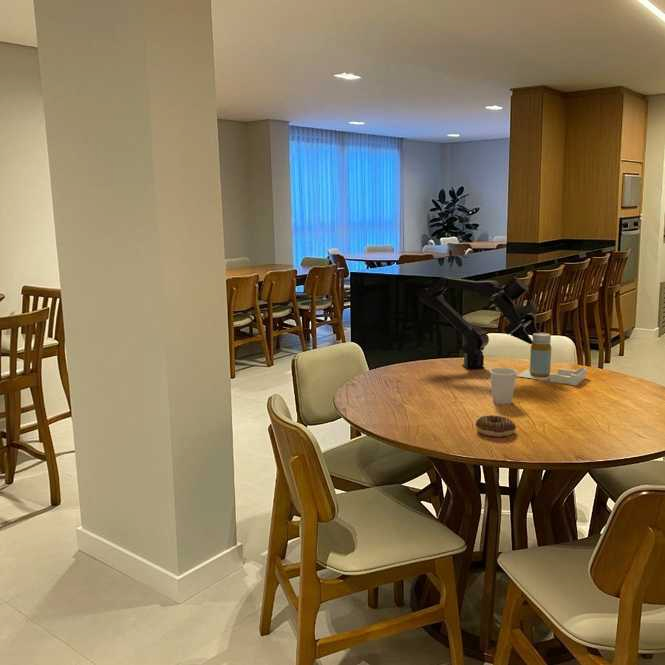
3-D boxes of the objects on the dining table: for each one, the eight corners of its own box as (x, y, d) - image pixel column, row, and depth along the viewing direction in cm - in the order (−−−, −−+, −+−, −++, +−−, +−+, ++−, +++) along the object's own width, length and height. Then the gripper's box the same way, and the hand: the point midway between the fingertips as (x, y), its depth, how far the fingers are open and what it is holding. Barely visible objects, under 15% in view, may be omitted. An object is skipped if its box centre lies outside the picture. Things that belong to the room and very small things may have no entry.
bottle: (552, 374, 239) (554, 333, 236) (547, 378, 233) (549, 336, 230) (532, 371, 242) (534, 331, 240) (527, 375, 237) (529, 335, 234)
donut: (467, 432, 179) (467, 418, 179) (488, 423, 187) (489, 410, 186) (502, 442, 172) (502, 427, 171) (522, 432, 179) (523, 418, 178)
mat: (516, 376, 237) (516, 375, 237) (526, 370, 246) (526, 369, 246) (546, 381, 231) (546, 380, 231) (556, 374, 240) (556, 373, 240)
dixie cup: (519, 405, 203) (520, 374, 201) (491, 405, 203) (492, 374, 201) (512, 397, 211) (513, 367, 209) (486, 398, 211) (487, 367, 209)
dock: (548, 381, 230) (549, 371, 229) (559, 374, 239) (559, 364, 239) (576, 385, 225) (576, 374, 224) (585, 378, 234) (586, 367, 233)
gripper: (514, 297, 229) (544, 331, 225) (532, 291, 244) (560, 323, 240) (492, 317, 235) (520, 351, 231) (511, 310, 250) (538, 342, 246)
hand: (536, 341), depth 236 cm, fingers open, 9 cm apart
